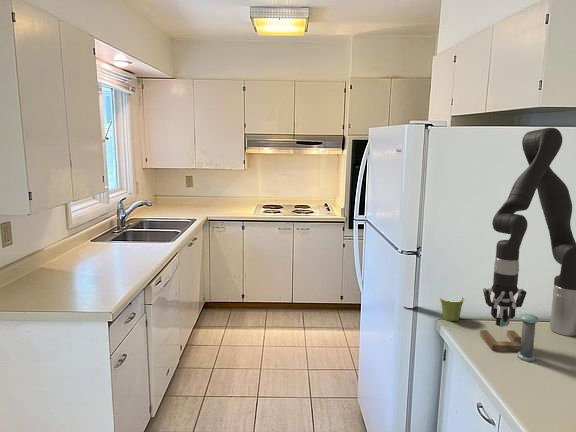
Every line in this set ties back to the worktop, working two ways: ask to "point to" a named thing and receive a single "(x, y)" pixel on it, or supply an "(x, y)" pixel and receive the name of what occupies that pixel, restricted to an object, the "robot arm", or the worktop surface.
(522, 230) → the robot arm
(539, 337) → the worktop surface
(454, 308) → the plant pot
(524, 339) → the spool
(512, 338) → the notched board
